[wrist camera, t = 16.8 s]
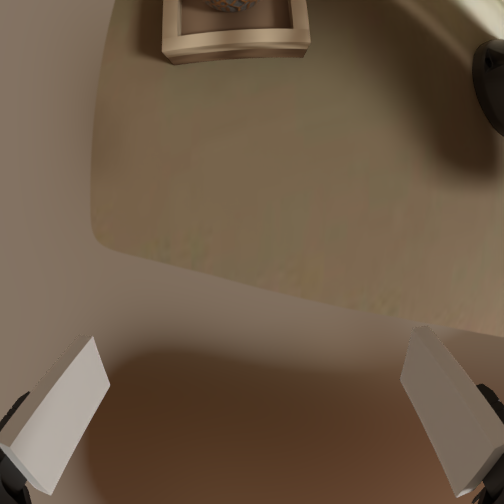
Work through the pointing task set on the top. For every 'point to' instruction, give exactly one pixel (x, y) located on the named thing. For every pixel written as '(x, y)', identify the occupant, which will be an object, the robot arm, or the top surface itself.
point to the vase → (231, 4)
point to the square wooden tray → (234, 31)
